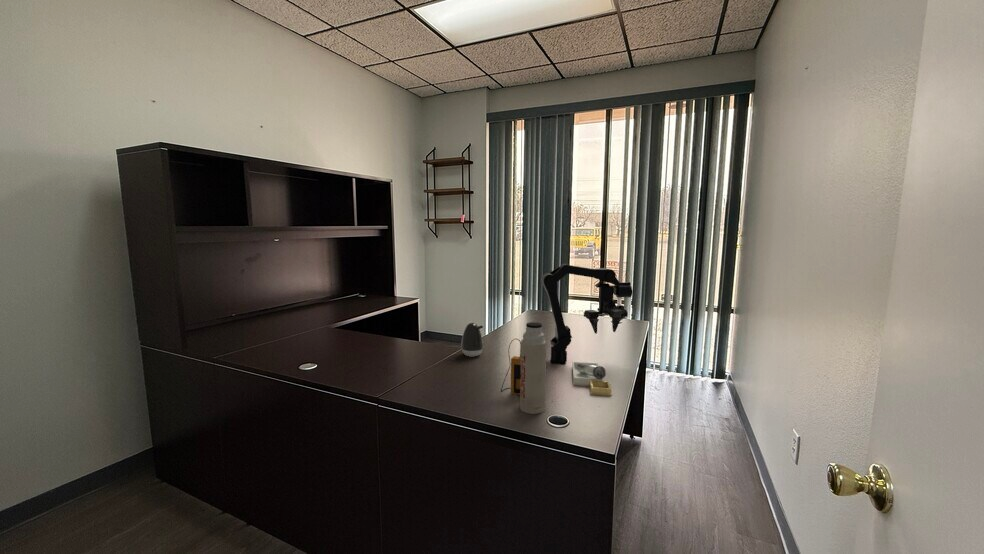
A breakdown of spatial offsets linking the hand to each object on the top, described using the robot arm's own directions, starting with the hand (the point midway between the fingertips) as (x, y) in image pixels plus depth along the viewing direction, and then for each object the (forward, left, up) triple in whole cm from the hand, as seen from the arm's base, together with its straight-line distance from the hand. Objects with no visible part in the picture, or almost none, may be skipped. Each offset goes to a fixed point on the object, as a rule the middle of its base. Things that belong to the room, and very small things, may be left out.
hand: (605, 332), depth 171 cm
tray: (-9, -21, -13) cm, 26 cm away
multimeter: (-32, -38, -13) cm, 51 cm away
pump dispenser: (-59, -2, -13) cm, 61 cm away
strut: (-11, -17, -10) cm, 23 cm away
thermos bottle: (-28, -52, -13) cm, 60 cm away
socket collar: (-5, -34, -13) cm, 37 cm away
